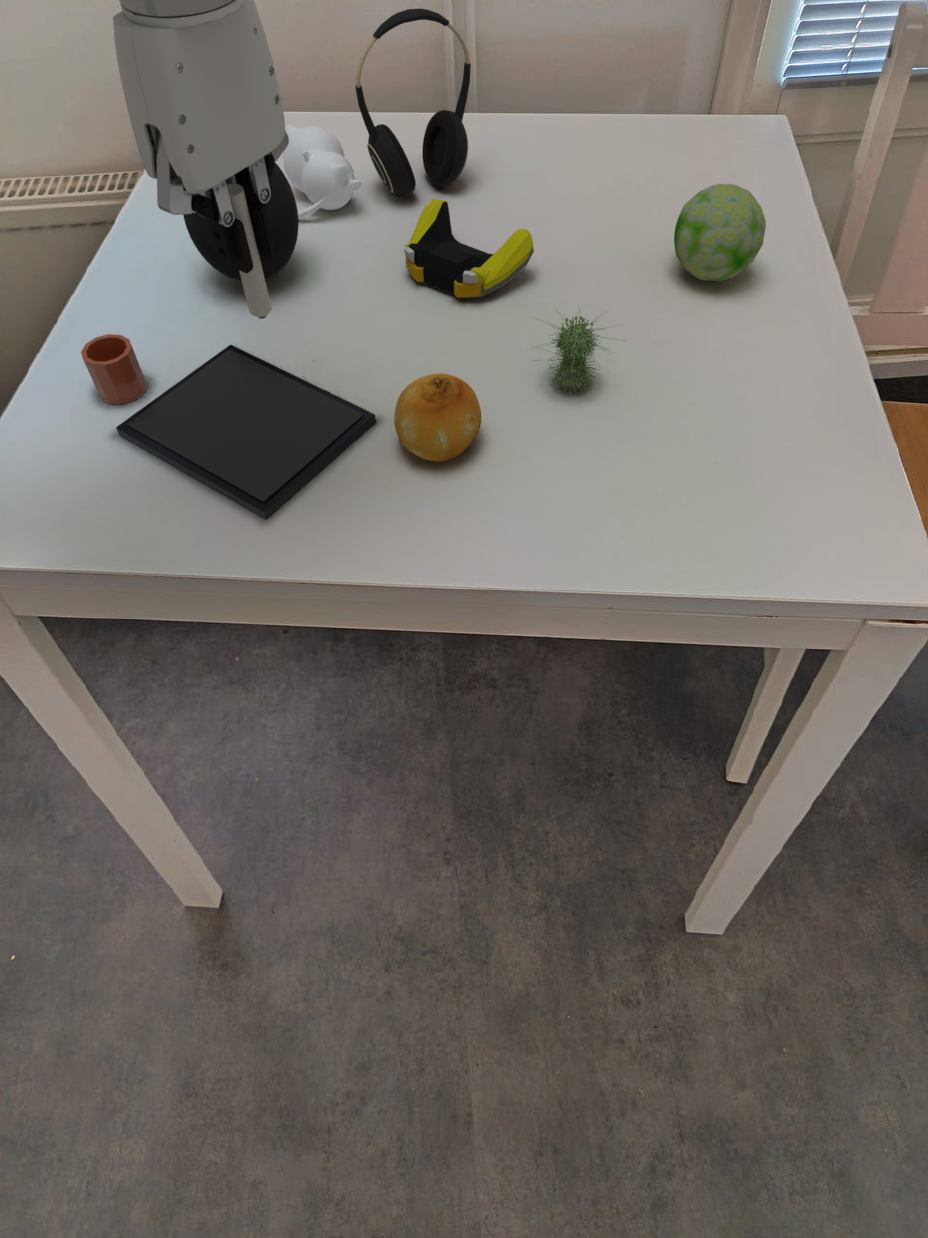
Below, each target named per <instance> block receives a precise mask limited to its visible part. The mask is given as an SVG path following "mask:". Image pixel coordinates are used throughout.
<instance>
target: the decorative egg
mask: <svg viewBox="0 0 928 1238" xmlns="http://www.w3.org/2000/svg"><path fill="white" fill-rule="evenodd" d="M288 180H289V179H288V177H287V176H286V174H285V173H284V172H283V170H282V169H281V167H280V166H279V164H277V161H275V166H274V169H273V172H272V175H271V179H270V182H269V186H270V191H271V197H270V199H269V201H268V202H267V203H265V205H266V209H267V214H268V219H269V223H270V228H271V233H272V237H273V242H274V247H275V251H276V253H275V255H273V256H272V257H270V258H269V257H265V256H262V255H260V254H259V257H260V261H261V265H262V270H263V274H264V278H265V281H266V280H268V279H271V278H273V277H274V276H276V275H277V274H279V272H281V271H282V270H283V269H284V268H285V266H286V265H287V264H288V263H289V261H290V259H291V258H292V255H293V253H294V251H295V248H296V246H297V241H298V236H299V220H298V212H299V211H298V206H297V202H296V197H295V194H294V192H293V189H292V186H291V184H290V181H288ZM225 181H226V185H228V184H232V181H231V177H230V178H228V179H226V180H225ZM183 189H184V190H185V187H184V185H183ZM209 195H210V192H209ZM210 198H211V195H210ZM211 200H212V198H211ZM182 216H183V220H184V224H185V227H186V230H187V232H188V235H189V237H190V239H191V241H192V243H193V245H194V247H195V248H196V250H197V251H198V253H199V255H200V256H202V258H203V259H204V260H205V261H206V262H207V263H208V264H209V265H210V266H211V267H212V268H213V269H214V270H216V271H217V272H218V273H220V274H222V275H223V276H225V277H227V278H229V279H232V280H234V281H237V282H242V280H241V276H240V272H239V270H237V269H235V268H232V267H230V266H228V265H226V264H223V263H222V262H221V261H220V260H219V258H218V256H217V254H216V251H215V248H214V244H213V241H212V237H211V234H210V230H209V226H208V223H207V219H206V218H204V217H201V216H199V215H198V214H196V213H192V214H184V215H182Z"/></svg>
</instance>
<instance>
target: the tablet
mask: <svg viewBox="0 0 928 1238" xmlns="http://www.w3.org/2000/svg"><path fill="white" fill-rule="evenodd" d="M376 423H377V418H376V414H375V413H373V412H371V411H368V410H367V409H365V408H362V407H361V406H358V405H357V404H355V403H353V402H350V401H348V400H346V399H344V398H342V397H339V396H338V395H336V394H334V393H332V392H330V391H328V390H325V389H324V388H321V387H319V386H317V385H315V384H313V383H311V382H310V381H307V380H305V379H303V378H301V377H299V376H296V375H295V374H292V373H290V372H288V371H287V370H284V369H282V368H280V367H278V366H276V365H274V364H271V363H270V362H268V361H266V360H264V359H261V358H259V357H258V356H255V355H253V354H251V353H249V352H247V351H246V350H243V349H241V348H239V347H237V346H235V345H234V344H229V345H227V346H226V347H225V348H223V349H222V350H221V351H219V352H218V353H216V354H215V355H214V356H212V357H211V358H210V359H208V360H206V361H205V362H204V363H203V364H201V365H200V366H198V367H197V368H195V370H193V371H192V372H190V373H189V374H188V375H186V376H185V377H183V378H182V379H180V380H179V381H178V382H176V383H175V384H173V385H172V386H171V387H169V388H168V389H167V390H165V391H164V392H163V393H161V394H160V395H159V396H157V397H156V398H154V399H153V400H151V401H150V402H148V403H147V404H145V406H143V407H142V408H141V409H139V410H138V411H136V412H135V413H134V414H132V415H131V416H130V417H128V418H127V419H126V420H124V421H122V422H121V423H120V424H118V425H117V426H116V427H115V429H116V431H117V433H118V435H119V436H121V437H122V438H124V439H126V440H127V441H129V442H131V443H132V444H134V445H136V446H138V447H139V448H141V449H143V450H144V451H146V452H148V453H150V454H151V455H153V456H155V457H157V458H158V459H161V460H162V461H163V462H166V463H167V464H169V465H171V466H172V467H175V468H176V469H178V470H179V471H181V472H184V473H185V474H187V475H188V476H190V477H192V478H194V479H195V480H196V481H199V482H200V483H202V484H204V485H206V486H208V487H209V488H211V489H213V490H215V491H216V492H218V493H219V494H221V495H222V496H225V497H226V498H228V499H230V500H232V501H234V502H235V503H237V504H239V505H240V506H242V507H244V508H246V509H247V510H249V511H251V512H253V513H254V514H256V515H258V516H260V517H261V518H263V519H265V520H267V519H268V518H270V517H271V516H272V515H273V514H274V513H276V512H277V511H278V510H279V509H280V508H281V507H282V506H283V505H284V504H285V503H287V502H288V501H289V500H290V499H291V498H292V497H294V495H295V494H297V493H298V492H299V491H300V490H301V489H302V488H303V487H305V486H306V485H307V484H308V483H309V482H310V481H312V480H313V479H314V478H315V477H316V476H317V475H318V474H320V472H322V471H323V470H324V469H325V468H326V467H327V466H329V464H330V463H332V462H334V460H335V459H337V458H338V457H339V456H340V455H341V454H343V452H344V451H345V450H346V449H348V448H349V447H350V446H351V445H352V444H353V443H355V441H357V440H358V439H359V438H360V437H361V436H362V435H363V434H364V433H366V432H367V431H368V430H369V429H370V428H371V427H372V426H374V424H376Z"/></svg>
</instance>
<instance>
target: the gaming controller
mask: <svg viewBox="0 0 928 1238" xmlns="http://www.w3.org/2000/svg"><path fill="white" fill-rule="evenodd" d="M450 215H451V214H450V207H449V203H448V201H447V200H444V199H439V198H432V199H431V200H430V201H429V202H428V203H427V204H426V205H425V206H424V208H423V210H422V211H421V213H420V215H419V218H418V219H417V223H416V225H415V227H414V230H413V232H412V235H411V236H410V239H409V242H407V243H406V244H405V245H404V248H403V251H404V255H405V268H406V269H407V271H408V272H409V273H410V275H411V276H412V278H413V279H414V281H415V282H418V283H424V284H426V285H428V286H431V287H433V288H436V289H439V290H441V291H444V292H446V293H449V294H451V295H453V296H455V297H456V298H458V299H459V298H460V299H462V298H465V299H466V298H469V299H470V298H483V297H484V296H486V295H488V294H491V293H494V292H495V291H496V290H498V289H500V288H502V287H503V286H505V285H507V284H508V283H509V282H510V281H511V280H512V279H513V278H515V277H516V276H517V275H518V274H519V273H520V272H521V271H522V270H524V269H525V268H526V267H527V266H528V264H529V262H530V260H531V258H532V257H533V254H534V252H535V249H534V241H533V237H532V234H531V232H530V230H528V229H526V228H517V230H515V231H514V233H512V235H511V236H509V237H508V238H507V240H506V241H505V242H504V243H503V244H502V245H501V246H500V247H499V248H498V249H497V250H496V251H495V252H494V253H490V252H489V253H488V252H486V251H483V250H480V249H478V248H475V247H472V246H470V245H467V244H465V243H462V242H459V241H458V240H457V239H456V237H454V235H453V231H452V223H451V216H450Z"/></svg>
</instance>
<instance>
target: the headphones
mask: <svg viewBox="0 0 928 1238" xmlns="http://www.w3.org/2000/svg"><path fill="white" fill-rule="evenodd" d="M417 21H431V22H435V23H438V24H441V26H442V25H443V26H444V27H447V28H448V29H449V30H450V31H452V32H453V34H454V35H455V36H456V38H457V39H458V41H459V43H460V45H461V47H462V50H463V53H464V63H463V72H462V74H463V75H462V81H461V87H460V91H459V96H458V98H457V102H456V106H455V109H454V111H452V110H447V109H442V110H438V111H436V112H435V113H434V114H433V115H432V116H431V117H430V119H429V121H428V122H427V125H426V128H425V130H424V135H423V140H422V151H421V153H422V165H423V169H424V172H425V175H426V177H427V179H428V180H429V181H430V182H431V183H432V184H434V185H435V186H437V187H449V186H451V185H452V184H453V183H455V181H456V180H457V179H458V178H459V177H460V175H461V174H462V172H463V171H464V169H465V167H466V163H467V161H468V154H469V138H468V137H469V136H468V133H467V130H466V128H465V125H464V123H463V119H464V114H465V110H466V105H467V100H468V96H469V89H470V84H471V69H472V68H471V66H472V63H471V59H470V53H469V50H468V47H467V45H466V42H465V40H464V38H463V36H462V35H461V33H460V32H459V31H458V30H457V28H455V27H454V25H453V24H452V23H451V22H450V21H449V19H447V18H446V17H445V16H443V15H442V14H441V13H440V12H439V13H438V12H436V11H434V10H430V9H427V8H421V7H420V8H407V9H404V10H401V11H399V12H396V13H394V14H393V15H391V16H390V17H389V18H386V20H384V21H383V22H382V23H381V24H380V25H379V26H378V28H377V29H376V30H375V31H374V32H373V34H372V36H371V39H370V40H369V41H368V43H367V44H366V46H365V48H364V50H363V52H362V54H361V56H360V58H359V61H358V65H357V69H356V75H355V85H354V88H355V93H356V100H357V105H358V108H359V111H360V114H361V118H362V120H363V123H364V126H365V128H366V131H367V133H368V139H367V144H366V146H367V150H368V151H367V152H368V154H369V158H370V160H371V163H372V164H373V167H374V169H375V171H376V172H377V173H376V174H378V176H379V178H380V180H381V181H382V183H383V184H384V186H385V187H386V188H387V190H388V191H389V192H390V193H393V194H395V195H397V196H400V197H408V196H409V195H411V194H413V192H414V191H415V189H416V186H417V183H416V178H415V174H414V171H413V168H412V166H411V162H410V161H409V158H408V157H407V155H406V152H405V150H404V148H403V147H402V145H401V143H400V141H399V139H398V138H397V137H396V135H395V133H394V132H393V131H392V130H391V128H390V127H389V126H388V125H386V124H383V123H380V124H377V125H376V126H375V123H374V121H373V119H372V117H371V114H370V112H369V110H368V107H367V103H366V100H365V95H364V91H363V87H362V85H361V76H362V71H363V67H364V63H365V60H366V58H367V56H368V54H369V52H370V50H371V49H372V48H373V46H374V44H376V42H377V41H378V40H380V39H381V38H382V37H383V36H384V35H385V34H386V33H388V32H390V31H391V30H393V29H395V28H396V27H398V26H400V25H403V24H406V23H412V22H417Z"/></svg>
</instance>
